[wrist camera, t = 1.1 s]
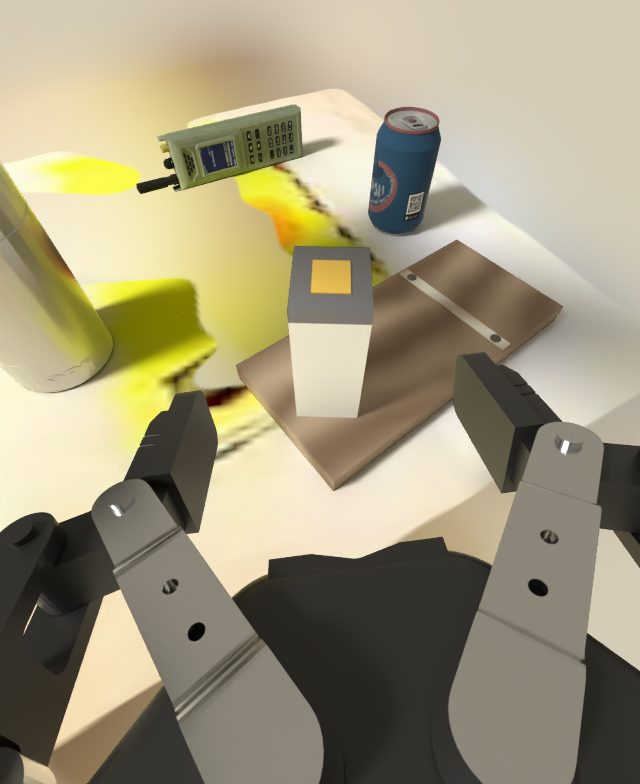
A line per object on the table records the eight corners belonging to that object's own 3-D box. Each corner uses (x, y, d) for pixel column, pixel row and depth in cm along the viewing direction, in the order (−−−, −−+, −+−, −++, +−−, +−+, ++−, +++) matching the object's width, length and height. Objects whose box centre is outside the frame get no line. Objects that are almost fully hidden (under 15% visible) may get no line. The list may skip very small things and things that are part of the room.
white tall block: (296, 416, 33) (286, 309, 23) (300, 359, 36) (294, 244, 26) (357, 417, 33) (374, 311, 23) (355, 360, 36) (369, 246, 26)
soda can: (357, 215, 52) (366, 111, 42) (402, 202, 54) (421, 99, 44) (384, 244, 49) (400, 138, 39) (431, 230, 51) (459, 125, 41)
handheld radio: (305, 159, 61) (144, 204, 54) (295, 151, 63) (138, 193, 56) (303, 109, 56) (124, 151, 49) (292, 101, 57) (118, 141, 50)
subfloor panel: (239, 378, 37) (235, 364, 36) (451, 254, 48) (457, 238, 46) (333, 490, 31) (334, 480, 30) (553, 320, 42) (564, 305, 40)
